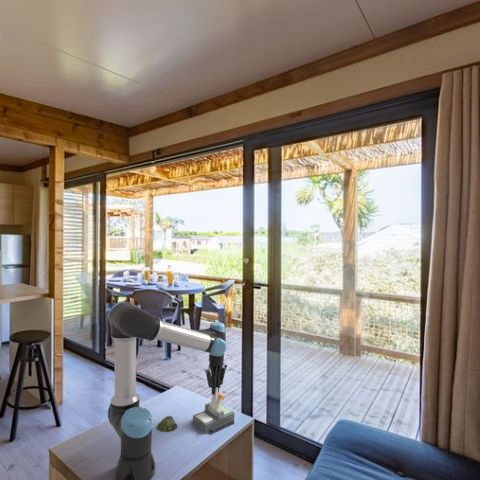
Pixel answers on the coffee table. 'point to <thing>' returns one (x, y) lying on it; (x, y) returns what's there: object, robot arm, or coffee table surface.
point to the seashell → (167, 424)
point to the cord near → (221, 426)
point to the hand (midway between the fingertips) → (215, 399)
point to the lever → (216, 404)
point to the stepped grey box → (211, 418)
